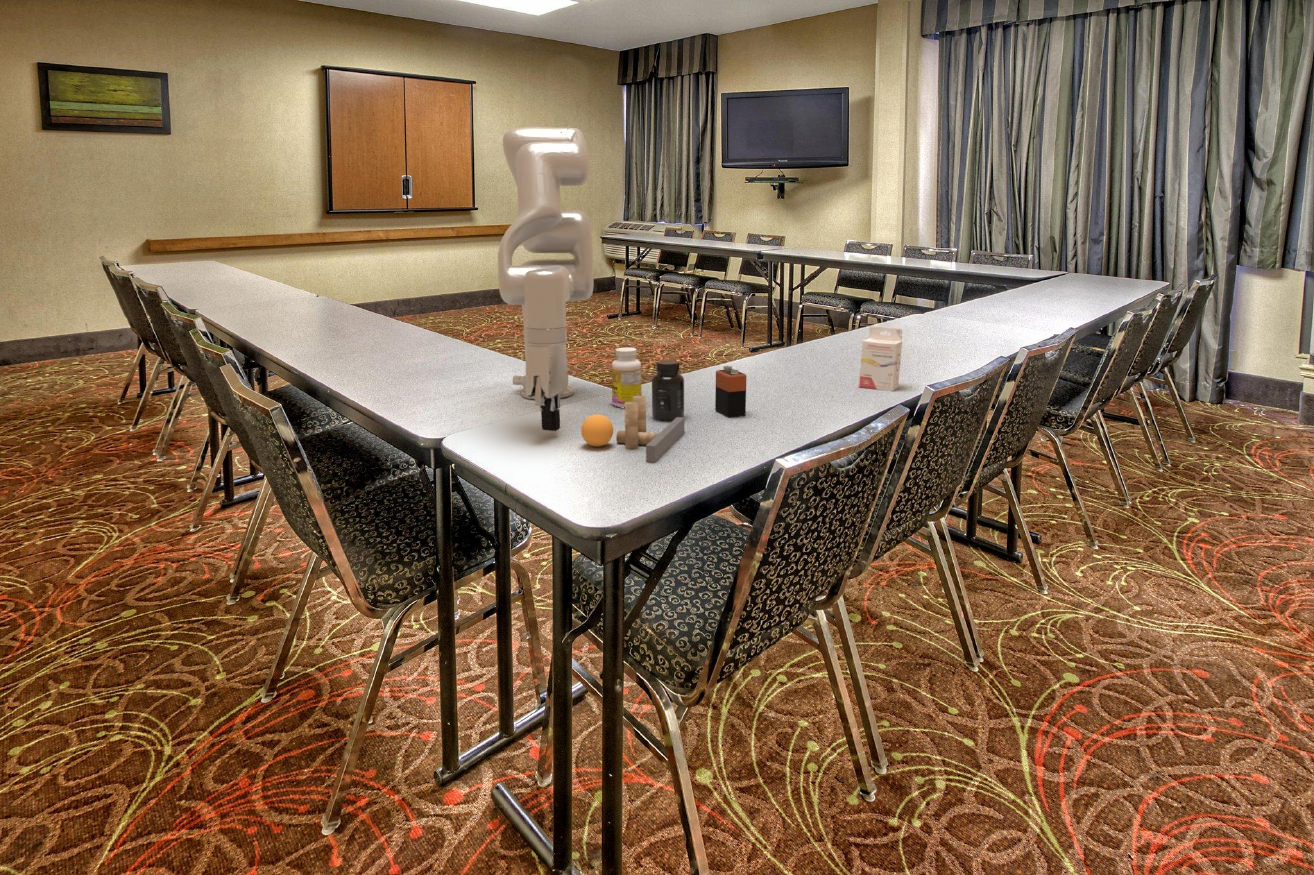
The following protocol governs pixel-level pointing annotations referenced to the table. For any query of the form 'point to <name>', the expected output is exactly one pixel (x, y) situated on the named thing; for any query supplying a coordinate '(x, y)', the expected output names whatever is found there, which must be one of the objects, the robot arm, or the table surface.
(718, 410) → the battery
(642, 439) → the wooden block
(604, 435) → the ball
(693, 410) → the table surface
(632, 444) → the pin
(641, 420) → the pin
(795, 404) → the table surface
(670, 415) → the supplement bottle
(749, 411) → the table surface
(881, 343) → the ink cartridge box
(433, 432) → the table surface
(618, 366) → the supplement bottle
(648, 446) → the back wall
